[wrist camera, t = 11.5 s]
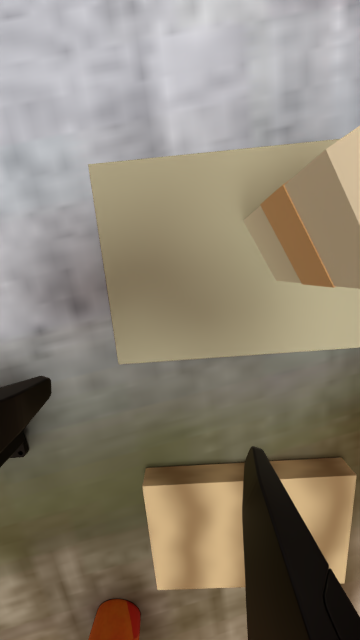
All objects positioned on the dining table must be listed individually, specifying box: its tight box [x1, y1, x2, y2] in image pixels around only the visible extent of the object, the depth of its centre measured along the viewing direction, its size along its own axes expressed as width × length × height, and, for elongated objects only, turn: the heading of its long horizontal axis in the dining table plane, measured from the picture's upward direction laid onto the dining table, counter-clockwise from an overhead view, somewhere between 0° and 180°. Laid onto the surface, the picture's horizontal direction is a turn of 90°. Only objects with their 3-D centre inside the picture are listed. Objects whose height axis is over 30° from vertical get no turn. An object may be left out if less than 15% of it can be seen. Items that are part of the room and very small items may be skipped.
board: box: [143, 457, 356, 590], centre depth 23 cm, size 20×14×2 cm
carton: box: [243, 126, 360, 289], centre depth 12 cm, size 6×6×10 cm
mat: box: [88, 139, 360, 364], centre depth 18 cm, size 22×16×1 cm
